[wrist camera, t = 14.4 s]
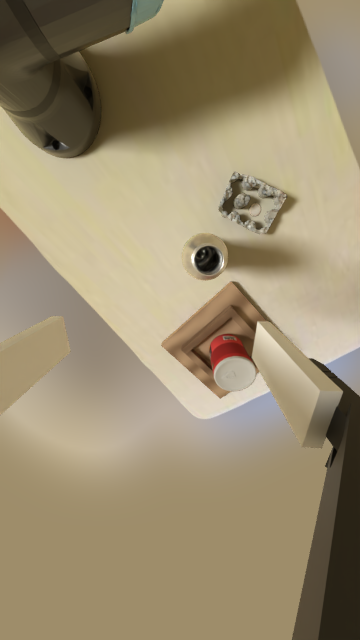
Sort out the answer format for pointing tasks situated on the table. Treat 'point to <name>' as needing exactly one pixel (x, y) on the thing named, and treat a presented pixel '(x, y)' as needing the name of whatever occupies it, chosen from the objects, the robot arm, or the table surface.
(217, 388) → the walnut holder
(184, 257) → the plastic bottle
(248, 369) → the canned food
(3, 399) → the robot arm
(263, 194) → the egg carton
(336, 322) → the table surface
